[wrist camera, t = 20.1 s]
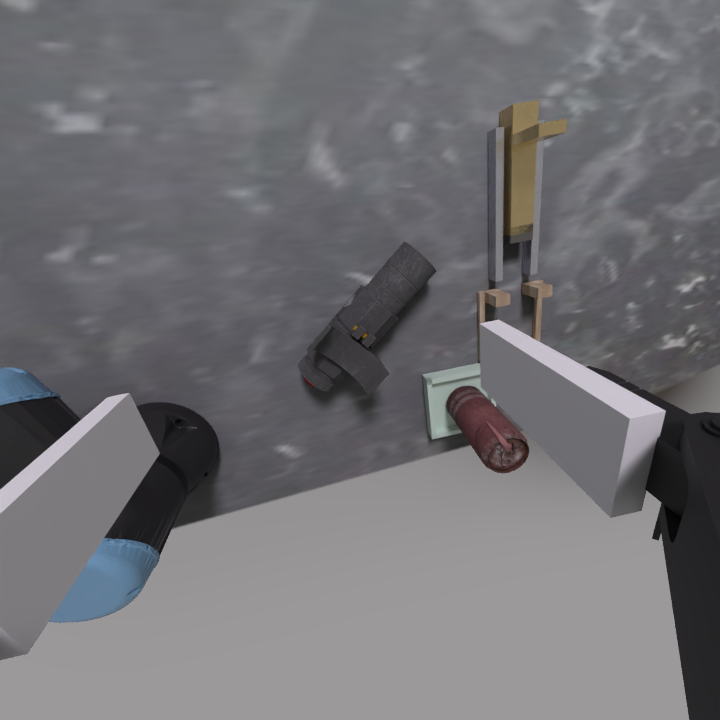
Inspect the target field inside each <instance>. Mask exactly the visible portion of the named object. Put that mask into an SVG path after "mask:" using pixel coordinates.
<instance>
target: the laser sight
mask: <svg viewBox="0 0 720 720" xmlns="http://www.w3.org/2000/svg"><path fill="white" fill-rule="evenodd" d="M435 272H436V270H435V268H434V267H433V266H432V264H431V263H430V262H429V261H428V260H427V259H426V258H425V257H424V256H423V255H422V254H421V253H419V252H418V251H417V250H416V249H415V248H413V247H412V246H411V245H410V244H408V243H406V242H404V243H403V244H402V245H401V246H400V248H399V249H398V250H397V251H396V252H395V253H394V255H393V256H392V257H391V258H390V259H389V260H388V261H387V263H386V264H385V265H384V266H383V267H382V269H381V270H380V271H379V272H378V273H377V274H376V275H375V277H374V278H373V279H372V280H371V281H370V283H369V284H368V285H367V286H366V287H363V286H362V285H361V287H360V288H359V289H358V290H357V291H356V292H355V294H354V295H353V296H352V297H351V298H350V299H349V301H348V302H347V303H346V304H345V305H344V306H343V308H342V309H341V310H340V311H339V312H338V313H337V315H336V316H335V317H334V318H333V319H332V320H331V322H330V323H329V324H328V325H327V326H326V328H325V329H324V330H323V331H322V332H321V333H320V335H319V336H318V337H317V338H316V339H315V340H314V342H313V343H312V344H311V345H310V346H309V347H308V349H307V350H308V354H307V356H305V357H304V358H303V359H302V360H301V361H300V362H299V364H298V368H299V371H300V372H301V374H302V375H303V376H304V379H305V381H306V382H307V383H308V384H309V385H310V386H312V387H317V388H318V389H320V390H322V391H329V390H330V389H331V388H332V387H333V386H334V385H335V384H336V382H337V381H338V380H344V379H345V378H346V377H347V376H348V374H349V373H350V374H351V375H352V376H353V377H354V378H355V379H356V380H357V381H358V382H359V383H360V384H361V385H362V386H363V388H364V389H365V391H366V393H367V394H368V395H370V394H371V393H372V392H373V391H374V390H375V389H376V387H377V386H378V385H379V384H380V383H381V382H382V381H383V380H384V379H385V378H386V377H387V376H388V375H389V372H388V371H387V370H386V368H385V367H384V365H383V364H382V362H381V361H380V360H379V358H378V357H376V356H375V355H374V354H373V353H371V352H370V350H371V346H373V347H374V346H375V345H376V344H377V343H378V342H379V340H380V339H381V338H382V337H383V336H384V335H385V334H386V333H387V332H388V331H389V329H390V328H391V327H392V326H393V325H394V324H395V323H396V322H397V321H398V320H399V319H398V318H397V316H396V315H397V314H398V313H399V312H400V311H401V310H402V309H403V308H404V307H405V305H406V304H407V303H408V302H409V301H410V300H411V299H412V297H413V296H414V295H415V294H416V293H417V292H418V291H419V290H420V289H421V288H422V286H423V285H424V284H425V283H426V282H427V281H428V280H429V279H430V278H431V276H432V275H433V274H434V273H435Z"/></svg>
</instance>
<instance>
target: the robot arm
mask: <svg viewBox="0 0 720 720" xmlns="http://www.w3.org/2000/svg"><path fill="white" fill-rule="evenodd" d="M480 380H481V388H482V389H483V390H484V391H485V392H486V393H487V394H488V395H489V396H490V397H491V398H492V399H493V400H494V401H495V402H496V403H497V404H498V405H499V406H500V407H501V408H502V409H503V410H504V411H505V412H506V413H507V414H508V415H509V416H510V417H511V418H512V419H513V420H514V421H515V422H516V423H517V424H518V425H519V426H520V427H521V428H522V429H523V430H524V431H525V432H526V433H527V434H528V435H529V436H530V437H531V438H532V439H533V440H534V441H535V442H536V443H537V444H538V445H539V446H540V447H541V448H542V449H543V450H544V451H545V452H546V453H547V454H548V455H549V456H550V457H551V458H552V459H553V460H554V461H555V462H556V463H557V464H558V465H559V466H560V467H561V468H562V469H563V470H564V471H565V472H566V473H567V474H568V475H569V476H570V477H571V478H572V479H573V480H574V481H575V482H576V483H577V484H578V485H579V486H580V487H581V488H582V489H583V490H584V491H585V492H586V494H587V495H589V496H590V497H591V499H592V500H594V501H595V503H596V504H598V506H599V507H600V508H601V509H602V510H603V511H604V512H605V513H606V514H607V515H609V517H611V518H612V517H616V516H620V515H624V514H629V513H633V512H637V511H641V510H642V506H643V502H644V498H645V494H646V490H647V491H648V492H649V493H651V494H652V495H653V496H654V497H656V498H657V499H658V500H659V501H660V502H662V503H661V507H660V511H659V514H658V518H657V522H656V525H655V529H654V533H653V537H652V539H656V540H659V537H660V534H661V533H662V540H663V546H664V553H665V560H666V567H667V573H668V580H669V586H670V593H671V600H672V607H673V613H674V619H675V627H676V633H677V640H678V647H679V653H680V660H681V667H682V674H683V680H684V687H685V693H686V700H687V707H688V714H689V720H720V413H709V412H703V413H696V414H690V413H688V412H685V411H684V410H682V409H680V408H678V407H676V406H674V405H672V404H670V403H668V402H666V401H664V400H663V399H660V398H659V397H657V396H655V395H653V394H651V393H649V392H647V391H645V390H643V389H642V390H640V389H639V387H637V386H635V385H634V384H632V383H630V382H627V383H626V380H624V379H622V378H620V377H618V376H616V375H614V374H612V373H610V372H608V371H604V370H601V369H597V368H594V367H590V366H587V367H585V366H583V365H581V364H579V363H577V362H575V361H574V360H572V359H570V358H568V357H566V356H564V355H563V354H561V353H559V352H557V351H555V350H553V349H552V348H550V347H548V346H546V345H544V344H542V343H541V342H539V341H537V340H535V339H533V338H531V337H530V336H528V335H526V334H524V333H522V332H520V331H518V330H517V329H515V328H513V327H511V326H509V325H507V324H506V323H504V322H502V321H500V320H495V321H490V322H485V323H480ZM60 397H61V396H60V395H59V394H57V393H55V392H52V391H51V390H50V389H48V388H47V387H46V386H45V385H44V384H43V383H42V382H40V381H39V380H38V379H37V378H36V377H35V376H34V375H33V374H31V373H30V372H28V371H26V370H24V369H20V368H12V367H8V368H0V660H2V659H7V658H11V657H15V656H19V655H23V654H28V652H29V651H30V649H31V648H32V646H33V644H34V643H35V641H36V640H37V638H38V637H39V635H40V634H41V632H42V631H43V629H44V628H45V626H46V625H47V623H48V622H59V623H60V622H80V621H88V620H93V619H97V618H101V617H104V616H107V615H109V614H112V613H114V612H116V611H118V610H120V609H122V608H123V607H125V606H126V605H128V604H129V603H130V602H131V601H133V599H135V597H137V595H138V594H139V593H140V592H141V590H142V588H143V587H144V585H145V583H146V581H147V579H148V578H149V576H150V574H151V572H152V571H153V569H154V568H155V567H156V565H157V563H158V561H159V558H160V557H159V556H160V554H161V552H162V549H163V547H164V545H165V542H166V540H167V538H168V536H169V534H170V531H171V529H172V527H173V525H174V523H175V520H176V518H177V516H178V514H179V512H180V509H181V507H182V505H183V503H184V501H185V499H186V497H187V496H188V495H189V494H190V493H191V492H192V491H193V490H194V489H195V488H196V487H197V486H198V485H199V484H200V483H201V482H202V481H203V480H204V479H205V478H206V477H207V476H208V475H209V473H210V472H211V470H212V468H213V466H214V463H215V461H216V459H217V455H218V440H217V437H216V434H215V432H214V430H213V429H212V427H211V426H210V425H209V423H208V422H207V421H206V420H205V419H204V418H202V417H201V416H200V415H199V414H197V413H195V412H194V411H192V410H190V409H188V408H185V407H183V406H180V405H176V404H171V403H148V404H143V405H140V406H137V407H136V405H135V403H134V401H133V399H132V397H131V395H130V393H126V394H121V395H116V396H111V397H107V398H106V399H105V400H104V401H103V402H102V403H100V404H99V405H98V406H97V407H96V408H95V409H93V410H92V411H91V412H90V413H89V414H88V415H86V416H85V417H84V418H83V419H82V420H81V419H80V418H79V417H78V416H77V415H76V414H75V413H74V412H73V411H72V410H71V409H70V408H69V407H68V406H67V405H66V404H65V403H64V402H63V401H62V400H61V399H60Z"/></svg>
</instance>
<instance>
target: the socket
mask: <svg viewBox="0 0 720 720" xmlns="http://www.w3.org/2000/svg"><path fill="white" fill-rule="evenodd" d="M521 293H522V294H525V295H528V296H530V297H533V298H534V307H533V328H532V338H533V339H535V340H537V341H539V342H540V330H541V313H542V298H547V297H552V285H548V284H545V283H543V280H536V281H531V282H526V283H522V290H521ZM485 302H486V303H488V304H490V305H492V306H494V307H501V306H506V305H510V294H509V293H506V292H504V291H501V290H499V289H496V288H495V289H490V290H484V291H479V292H477V316H478V360H479V361H480V323H485Z"/></svg>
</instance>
